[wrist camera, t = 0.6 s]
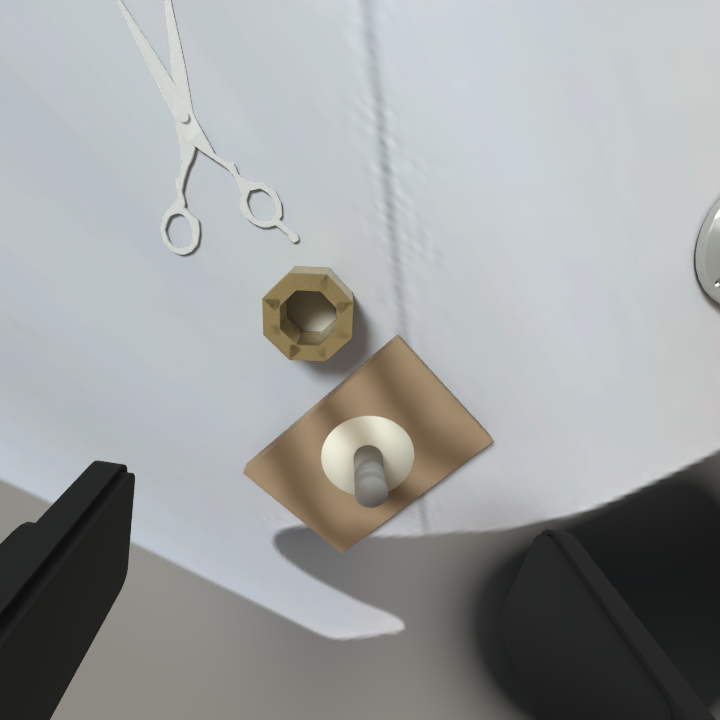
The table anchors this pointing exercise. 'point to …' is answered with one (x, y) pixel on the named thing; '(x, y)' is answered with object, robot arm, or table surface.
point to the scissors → (192, 133)
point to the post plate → (369, 396)
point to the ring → (288, 334)
